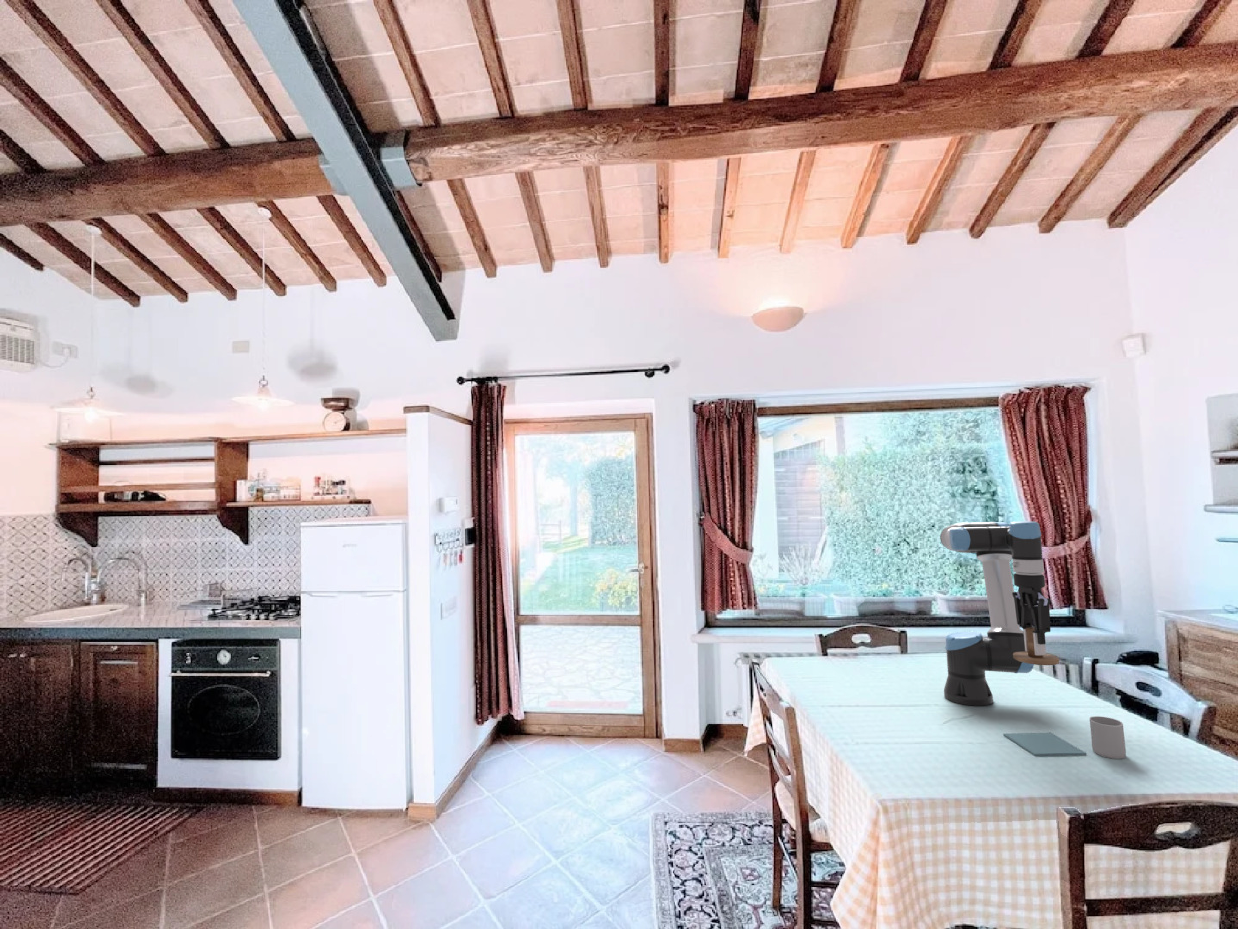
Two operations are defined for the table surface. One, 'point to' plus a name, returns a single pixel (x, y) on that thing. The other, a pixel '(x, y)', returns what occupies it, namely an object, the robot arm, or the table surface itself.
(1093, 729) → the cup
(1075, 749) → the mat
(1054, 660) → the lid
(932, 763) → the table surface
